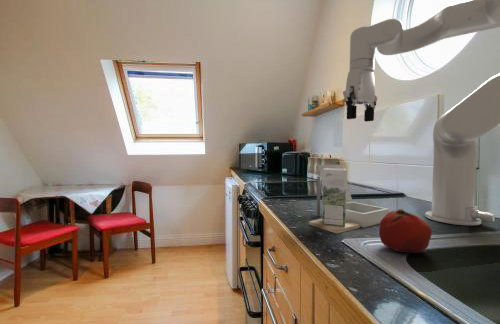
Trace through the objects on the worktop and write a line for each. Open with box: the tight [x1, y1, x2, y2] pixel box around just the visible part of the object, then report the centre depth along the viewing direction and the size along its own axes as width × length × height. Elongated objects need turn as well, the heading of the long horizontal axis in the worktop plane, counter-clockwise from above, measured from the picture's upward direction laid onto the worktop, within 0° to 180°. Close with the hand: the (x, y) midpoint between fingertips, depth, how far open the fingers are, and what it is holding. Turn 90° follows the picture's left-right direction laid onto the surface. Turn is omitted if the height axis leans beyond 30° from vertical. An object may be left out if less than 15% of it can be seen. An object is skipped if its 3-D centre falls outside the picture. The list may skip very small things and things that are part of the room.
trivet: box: [308, 218, 360, 235], centre depth 66 cm, size 9×9×1 cm
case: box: [316, 176, 390, 228], centre depth 73 cm, size 15×14×12 cm
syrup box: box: [321, 167, 348, 227], centre depth 66 cm, size 6×6×14 cm
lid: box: [315, 164, 353, 202], centre depth 80 cm, size 12×12×1 cm
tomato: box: [378, 208, 433, 254], centre depth 50 cm, size 9×9×8 cm
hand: (360, 120), depth 84 cm, fingers open, 9 cm apart
